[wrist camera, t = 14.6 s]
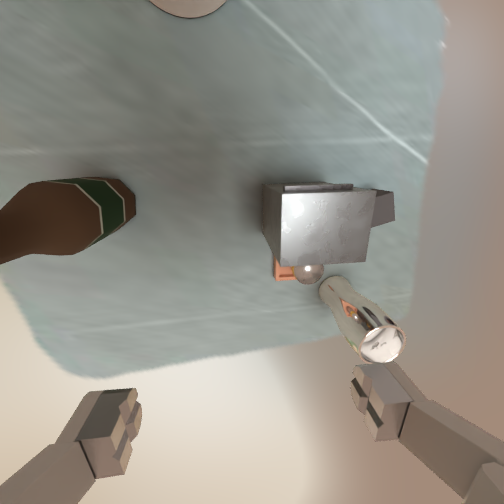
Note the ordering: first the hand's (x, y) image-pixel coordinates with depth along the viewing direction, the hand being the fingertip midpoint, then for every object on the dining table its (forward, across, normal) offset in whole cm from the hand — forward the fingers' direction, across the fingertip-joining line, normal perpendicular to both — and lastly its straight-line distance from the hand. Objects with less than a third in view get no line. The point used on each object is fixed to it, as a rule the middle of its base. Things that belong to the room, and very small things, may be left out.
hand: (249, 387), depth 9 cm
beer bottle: (+31, +18, -3) cm, 36 cm away
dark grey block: (+31, -10, -1) cm, 33 cm away
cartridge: (+30, -11, +7) cm, 33 cm away
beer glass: (+31, -19, +15) cm, 39 cm away
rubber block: (+31, -22, -1) cm, 38 cm away
